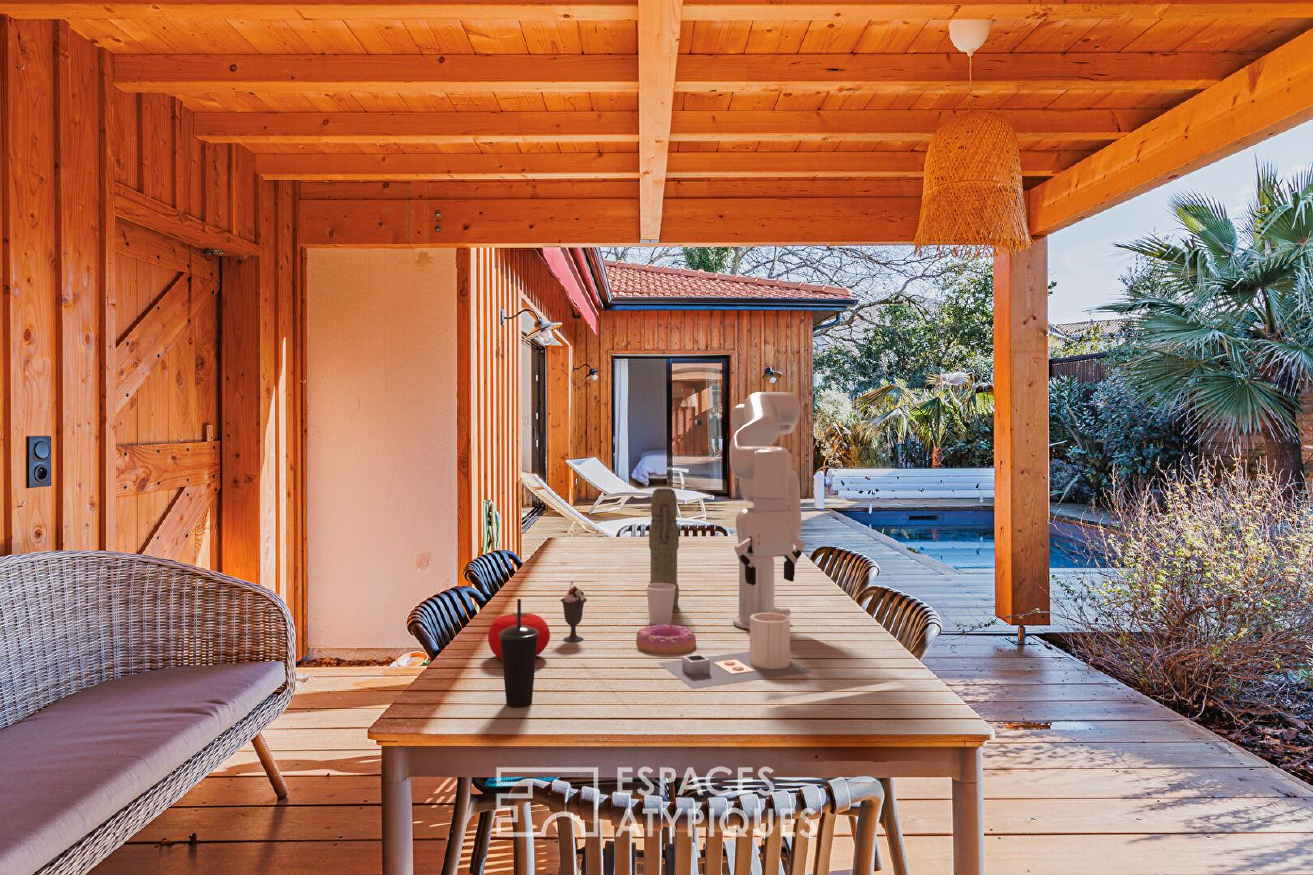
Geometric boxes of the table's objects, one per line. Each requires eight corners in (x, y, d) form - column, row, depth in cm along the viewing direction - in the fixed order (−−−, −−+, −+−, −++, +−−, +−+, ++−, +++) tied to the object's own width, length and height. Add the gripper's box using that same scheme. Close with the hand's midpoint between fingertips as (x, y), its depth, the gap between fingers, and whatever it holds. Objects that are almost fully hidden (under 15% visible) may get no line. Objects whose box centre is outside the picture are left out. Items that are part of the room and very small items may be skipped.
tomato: (475, 662, 173) (475, 616, 172) (506, 647, 184) (506, 604, 184) (530, 669, 167) (530, 622, 167) (559, 653, 179) (559, 609, 179)
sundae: (565, 644, 187) (565, 583, 187) (556, 638, 193) (556, 578, 192) (590, 641, 190) (590, 581, 190) (580, 634, 196) (580, 576, 196)
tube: (776, 654, 175) (776, 611, 175) (797, 666, 166) (797, 620, 166) (742, 659, 171) (743, 614, 171) (763, 670, 163) (763, 624, 163)
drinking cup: (501, 696, 150) (501, 595, 150) (540, 695, 151) (540, 594, 151) (496, 710, 143) (496, 604, 142) (537, 709, 143) (537, 603, 143)
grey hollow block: (700, 667, 165) (701, 654, 165) (710, 673, 161) (710, 659, 161) (682, 670, 163) (682, 656, 163) (691, 676, 159) (691, 662, 159)
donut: (652, 640, 192) (652, 620, 192) (704, 647, 186) (705, 626, 186) (625, 655, 179) (625, 633, 179) (680, 663, 173) (680, 641, 173)
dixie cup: (663, 627, 203) (664, 590, 203) (639, 622, 208) (639, 586, 208) (682, 621, 210) (682, 585, 210) (657, 616, 215) (657, 581, 215)
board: (768, 654, 179) (768, 647, 179) (812, 677, 162) (812, 670, 162) (658, 668, 169) (658, 661, 168) (692, 694, 152) (692, 686, 152)
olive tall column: (674, 601, 234) (675, 487, 234) (681, 610, 222) (682, 490, 222) (646, 602, 233) (646, 487, 232) (651, 611, 221) (652, 490, 221)
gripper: (794, 501, 175) (794, 575, 176) (727, 505, 169) (727, 581, 170) (813, 505, 168) (812, 582, 169) (744, 509, 162) (743, 589, 163)
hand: (769, 581), depth 169 cm, fingers open, 9 cm apart
